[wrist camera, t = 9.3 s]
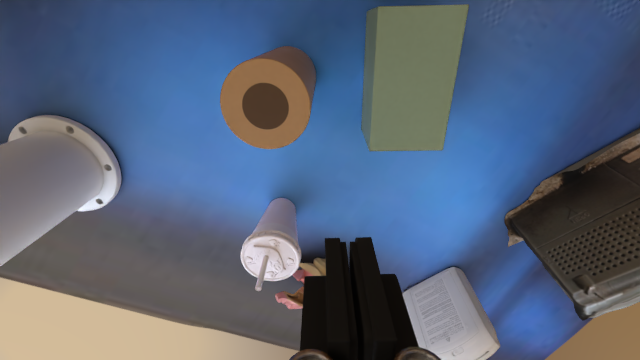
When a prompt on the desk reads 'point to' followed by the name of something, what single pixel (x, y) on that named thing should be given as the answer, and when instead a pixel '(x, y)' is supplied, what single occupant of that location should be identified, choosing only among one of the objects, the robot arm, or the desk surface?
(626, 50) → the desk surface
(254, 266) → the smoothie
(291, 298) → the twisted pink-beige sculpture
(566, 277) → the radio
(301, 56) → the paper roll
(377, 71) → the green block
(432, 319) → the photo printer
